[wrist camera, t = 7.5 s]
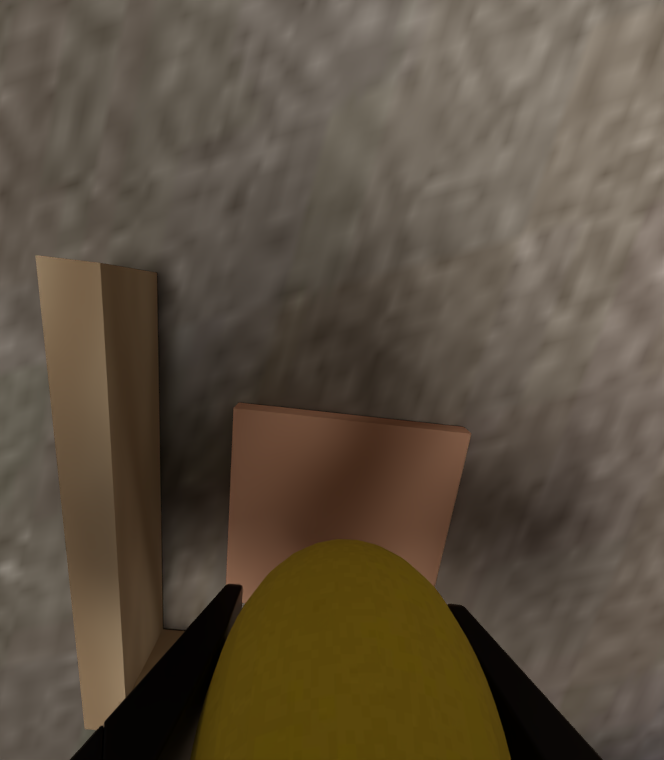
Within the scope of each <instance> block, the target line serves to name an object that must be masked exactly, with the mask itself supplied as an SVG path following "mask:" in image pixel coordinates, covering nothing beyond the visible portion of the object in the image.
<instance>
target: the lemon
mask: <svg viewBox="0 0 664 760" xmlns="http://www.w3.org/2000/svg"><path fill="white" fill-rule="evenodd" d="M190 760H511V757H510V753H509V750H508V746H507V742H506V738H505V734H504V731H503V727H502V724H501V721H500V717H499V714H498V711H497V708H496V704H495V702H494V699H493V696H492V693H491V691H490V688H489V685H488V682H487V680H486V677H485V675H484V672H483V670H482V668H481V666H480V663H479V661H478V659H477V656H476V654H475V652H474V651H473V649H472V647H471V645H470V643H469V641H468V639H467V637H466V635H465V634H464V632H463V630H462V629H461V627H460V625H459V624H458V622H457V620H456V619H455V617H454V616H453V614H452V612H451V611H450V609H449V607H448V606H447V604H446V603H445V601H444V600H443V598H442V597H441V595H440V594H439V593H438V591H437V590H436V589H435V587H434V586H433V585H432V584H431V583H430V582H429V581H428V580H427V579H426V578H425V577H424V576H423V575H422V574H421V573H420V572H418V571H417V570H416V569H415V568H414V567H413V566H412V565H411V564H409V563H408V562H407V561H406V560H404V559H403V558H402V557H400V556H398V555H396V554H394V553H392V552H390V551H389V550H387V549H385V548H383V547H381V546H378V545H376V544H372V543H368V542H364V541H360V540H351V539H335V540H330V541H324V542H319V543H316V544H313V545H311V546H309V547H306V548H304V549H302V550H300V551H297V552H295V553H293V554H292V555H291V556H290V557H288V558H287V559H286V560H284V561H283V562H282V563H280V564H279V565H278V566H276V567H275V568H274V569H273V570H272V571H271V572H270V573H269V574H268V575H267V576H266V577H265V578H264V580H263V581H262V582H261V583H260V585H259V586H258V587H257V589H256V590H255V591H254V593H253V594H252V595H251V597H250V598H249V599H248V600H247V602H246V603H245V605H244V607H243V608H242V610H241V611H240V613H239V615H238V616H237V618H236V620H235V622H234V624H233V626H232V628H231V630H230V632H229V635H228V637H227V640H226V642H225V644H224V647H223V649H222V652H221V654H220V657H219V660H218V662H217V665H216V668H215V671H214V673H213V676H212V679H211V682H210V685H209V688H208V691H207V693H206V696H205V700H204V703H203V707H202V710H201V714H200V717H199V721H198V725H197V729H196V734H195V738H194V743H193V747H192V752H191V757H190Z"/></svg>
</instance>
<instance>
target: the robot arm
mask: <svg viewBox="0 0 664 760" xmlns="http://www.w3.org/2000/svg"><path fill="white" fill-rule="evenodd" d="M242 596H243V587H242V585H240V584H227V585H226V586H225V587H224V588H223V589H222V590H221V591H220V592H219V593H218V595H217V596H216V597H215V598H214V599H213V600H212V601H211V602H210V603H209V605H208V606H207V607H206V608H205V609H204V610H203V611H202V612H201V614H200V615H199V616H198V617H197V618H196V619H195V620H194V621H193V623H192V624H191V625H190V626H189V627H188V628H187V629H186V630H185V632H184V633H183V634H182V635H181V636H180V637H179V638H178V639H177V641H176V642H175V643H174V644H173V645H172V646H171V647H170V648H169V650H168V651H167V652H166V653H165V654H164V655H163V656H162V657H161V658H160V660H159V661H158V662H157V663H156V664H155V665H154V666H153V667H152V669H151V670H150V671H149V672H148V673H147V674H146V675H145V676H144V678H143V679H142V680H141V681H140V682H139V683H138V684H137V685H136V687H135V688H134V689H133V690H132V691H131V692H130V693H129V694H128V696H127V697H126V698H125V699H124V700H123V701H122V702H121V703H120V705H119V706H118V707H117V708H116V709H115V710H114V711H113V712H112V714H111V715H110V716H109V717H108V718H107V719H106V720H105V722H104V727H103V726H100V727H99V728H98V729H97V730H96V731H95V732H94V733H93V735H92V736H91V737H90V738H89V739H88V740H87V741H86V743H85V744H84V745H83V746H82V747H81V748H80V749H79V750H78V751H77V752H76V754H75V755H74V756H73V757H72V758H71V759H70V760H190V757H191V752H192V747H193V743H194V738H195V734H196V729H197V725H198V721H199V717H200V714H201V710H202V707H203V703H204V700H205V696H206V693H207V691H208V688H209V685H210V682H211V679H212V676H213V673H214V671H215V668H216V665H217V662H218V660H219V657H220V654H221V652H222V649H223V647H224V644H225V642H226V640H227V637H228V635H229V632H230V630H231V628H232V626H233V624H234V622H235V620H236V618H237V616H238V615H239V613H240V611H241V610H242ZM447 606H448V607H449V609H450V611H451V612H452V614H453V616H454V617H455V619H456V620H457V622H458V624H459V625H460V627H461V629H462V630H463V632H464V634H465V635H466V637H467V639H468V641H469V643H470V645H471V647H472V649H473V651H474V652H475V654H476V656H477V659H478V661H479V663H480V666H481V668H482V670H483V672H484V675H485V677H486V680H487V682H488V685H489V688H490V691H491V693H492V696H493V699H494V702H495V704H496V708H497V711H498V714H499V717H500V721H501V724H502V727H503V731H504V734H505V738H506V742H507V746H508V750H509V753H510V757H511V760H603V759H602V758H601V757H600V756H599V755H598V754H597V753H596V752H595V751H594V749H593V748H592V747H591V746H590V745H589V744H588V743H587V742H586V741H585V740H584V738H583V737H582V736H581V735H580V734H579V733H578V732H577V731H576V730H575V728H574V727H573V726H572V725H571V724H570V723H569V722H568V721H567V720H566V719H565V717H564V716H563V715H562V714H561V713H560V712H559V711H558V710H557V709H556V707H555V706H554V705H553V704H552V703H551V702H550V701H549V700H548V699H547V698H546V696H545V695H544V694H543V693H542V692H541V691H540V690H539V689H538V688H537V686H536V685H535V684H534V683H533V682H532V681H531V680H530V679H529V678H528V677H527V675H526V674H525V673H524V672H523V671H522V670H521V669H520V668H519V667H518V665H517V664H516V663H515V662H514V661H513V660H512V659H511V658H510V657H509V656H508V654H507V653H506V652H505V651H504V650H503V649H502V648H501V647H500V646H499V645H498V643H497V642H496V641H495V640H494V639H493V638H492V637H491V636H490V635H489V633H488V632H487V631H486V630H485V629H484V628H483V627H482V626H481V625H480V624H479V622H478V621H477V620H476V619H475V618H474V617H473V616H472V615H471V614H470V612H469V611H468V610H467V609H466V608H465V607H464V606H462V605H456V604H448V605H447Z"/></svg>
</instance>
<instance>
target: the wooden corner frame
mask: <svg viewBox="0 0 664 760" xmlns="http://www.w3.org/2000/svg"><path fill="white" fill-rule="evenodd" d="M36 264H37V274H38V283H39V293H40V303H41V312H42V322H43V331H44V341H45V351H46V360H47V370H48V379H49V389H50V399H51V408H52V418H53V427H54V437H55V447H56V456H57V466H58V475H59V485H60V495H61V504H62V514H63V524H64V533H65V543H66V552H67V562H68V572H69V581H70V591H71V600H72V610H73V620H74V629H75V639H76V648H77V658H78V668H79V677H80V687H81V696H82V706H83V716H84V725H85V729H93V730H97V729H98V728H99V727H100V726H103V727H104V722H105V720H106V719H107V718H108V717H109V716H110V715H111V714H112V712H113V711H114V710H115V709H116V708H117V707H118V706H119V705H120V703H121V702H122V701H123V700H124V699H125V698H126V697H127V696H128V694H129V693H130V692H131V691H132V690H133V689H134V688H135V687H136V685H137V684H138V683H139V682H140V681H141V680H142V679H143V678H144V676H145V675H146V674H147V673H148V672H149V671H150V670H151V669H152V667H153V666H154V665H155V664H156V663H157V662H158V661H159V660H160V658H161V657H162V656H163V655H164V654H165V653H166V652H167V651H168V650H169V648H170V647H171V646H172V645H173V644H174V643H175V642H176V641H177V639H178V638H179V637H180V636H181V635H182V634H183V633H184V632H185V631H177V630H166V629H163V599H162V540H161V482H160V424H159V365H158V307H157V273H156V272H150V271H144V270H138V269H132V268H126V267H120V266H115V265H109V264H103V263H96V262H87V261H79V260H71V259H63V258H54V257H46V256H38V255H36ZM470 438H471V433H470V432H469V431H468V430H467V429H466V428H465V427H459V426H450V425H441V424H432V423H423V422H413V421H404V420H395V419H386V418H377V417H367V416H358V415H349V414H340V413H331V412H321V411H312V410H303V409H294V408H285V407H275V406H266V405H257V404H248V403H238V404H237V405H236V406H235V407H234V410H233V434H232V457H231V480H230V504H229V527H228V550H227V574H226V585H227V584H240V585H242V587H243V596H242V603H246V602H247V600H248V599H249V598H250V597H251V595H252V594H253V593H254V591H255V590H256V589H257V587H258V586H259V585H260V583H261V582H262V581H263V580H264V578H265V577H266V576H267V575H268V574H269V573H270V572H271V571H272V570H273V569H274V568H275V567H276V566H278V565H279V564H280V563H282V562H283V561H284V560H286V559H287V558H288V557H290V556H291V555H292V554H293V553H295V552H297V551H300V550H302V549H304V548H306V547H309V546H311V545H313V544H316V543H319V542H324V541H330V540H335V539H351V540H360V541H364V542H368V543H372V544H376V545H378V546H381V547H383V548H385V549H387V550H389V551H390V552H392V553H394V554H396V555H398V556H400V557H402V558H403V559H404V560H406V561H407V562H408V563H409V564H411V565H412V566H413V567H414V568H415V569H416V570H417V571H418V572H420V573H421V574H422V575H423V576H424V577H425V578H426V579H427V580H428V581H429V582H430V583H431V584H432V585H433V586H434V587H435V583H436V579H437V575H438V571H439V567H440V563H441V558H442V554H443V550H444V546H445V542H446V538H447V533H448V529H449V525H450V521H451V517H452V513H453V508H454V504H455V500H456V496H457V492H458V488H459V483H460V479H461V475H462V471H463V467H464V463H465V458H466V454H467V450H468V446H469V442H470Z"/></svg>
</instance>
